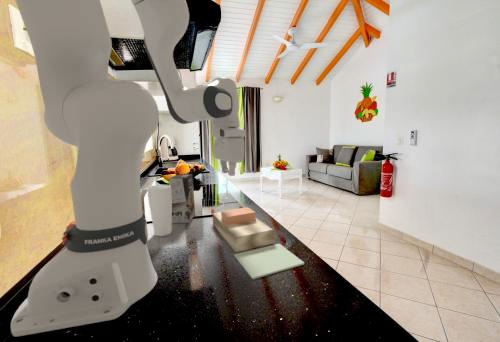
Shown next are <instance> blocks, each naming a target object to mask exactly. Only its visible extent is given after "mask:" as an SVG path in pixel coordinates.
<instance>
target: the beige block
mask: <svg viewBox="0 0 500 342" xmlns="http://www.w3.org/2000/svg"><path fill="white" fill-rule="evenodd" d="M212 225H213V226H214V228H215V229H216V230H217V231H218V233H219V234H220V235H221V236H222V237H223V239H224V240H225V241H226V242H227V243H228V245H229V246H230V247H231V248H232V250H233V251H234V252H235V253H241V252H245V251H249V250H253V249H255V248H256V249H258V248H262V247H266V246H270V245H274V229H273V228H271V227H270V226H269V225H267V224H266V223H264V222H263V221H261V220H260V218H257V217H256V220H254V221H248V222H243V223H237V224H232V225H227V224H226V223H225V222H224V221H223V220H222V218H221V211H219V212H213V213H212Z"/></svg>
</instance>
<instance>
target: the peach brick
mask: <svg viewBox="0 0 500 342" xmlns="http://www.w3.org/2000/svg"><path fill="white" fill-rule="evenodd" d="M220 212H221V218H222V220H223V221H224V222H225V223H226V224H227V225H232V224H237V223H243V222H248V221H254V220H256V218H257V217H256V211H254V210H253V209H251V208H249V207H248V206H247V207H240V208H234V209H227V210H223V211H220Z"/></svg>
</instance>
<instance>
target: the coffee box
mask: <svg viewBox="0 0 500 342" xmlns="http://www.w3.org/2000/svg"><path fill="white" fill-rule="evenodd" d="M193 177H194V175H193V174H192V173H187V174H186V173H185V174H175V175H174V176H171V177H169V178H168V185H170V186H171V192H172V224H188V223H190V222H191V221H192V219H194V217H195V216H196V207H195V192H194V178H193ZM194 215H195V216H194Z"/></svg>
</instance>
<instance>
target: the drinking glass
mask: <svg viewBox="0 0 500 342" xmlns="http://www.w3.org/2000/svg"><path fill="white" fill-rule="evenodd" d="M147 198H148V206H149V211H150V216H151V221H152V226H153V234H154V236H156V237H166V236H169V235H171V234H172V232H173V223H172V192H171V186H170V185H169V184H156V185H151V186H148V187H147Z"/></svg>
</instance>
